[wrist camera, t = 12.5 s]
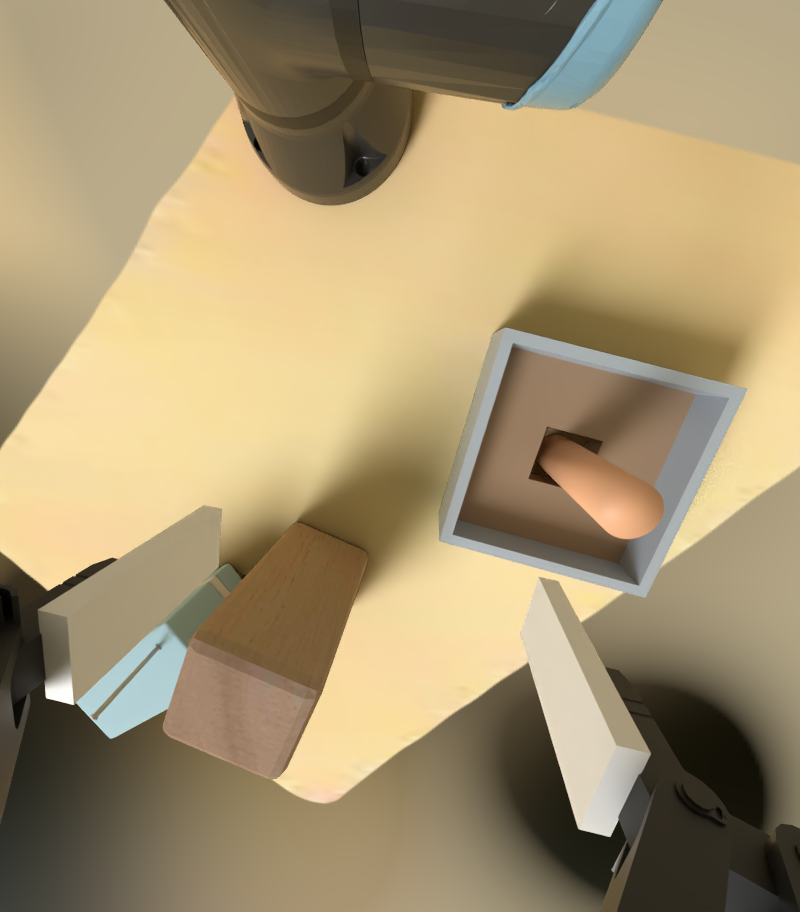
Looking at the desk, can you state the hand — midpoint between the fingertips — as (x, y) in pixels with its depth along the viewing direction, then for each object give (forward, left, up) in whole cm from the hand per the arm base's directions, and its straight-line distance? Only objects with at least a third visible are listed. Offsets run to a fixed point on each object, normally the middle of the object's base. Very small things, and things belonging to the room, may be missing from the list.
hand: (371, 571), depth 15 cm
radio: (+29, -20, -27) cm, 44 cm away
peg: (-3, +15, -26) cm, 30 cm away
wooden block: (+18, -7, -27) cm, 33 cm away
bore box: (-3, +15, -26) cm, 30 cm away
